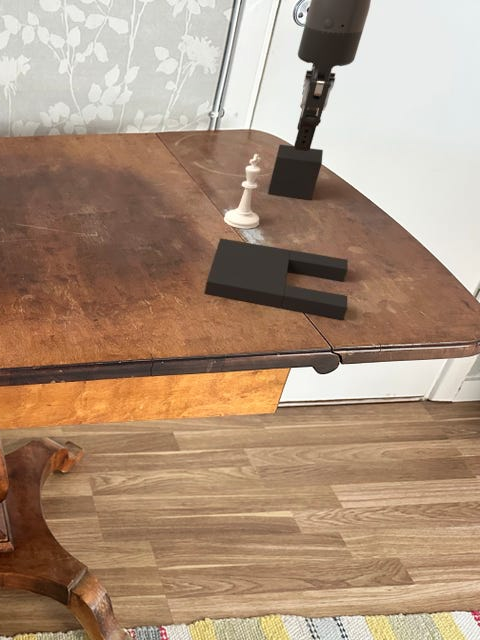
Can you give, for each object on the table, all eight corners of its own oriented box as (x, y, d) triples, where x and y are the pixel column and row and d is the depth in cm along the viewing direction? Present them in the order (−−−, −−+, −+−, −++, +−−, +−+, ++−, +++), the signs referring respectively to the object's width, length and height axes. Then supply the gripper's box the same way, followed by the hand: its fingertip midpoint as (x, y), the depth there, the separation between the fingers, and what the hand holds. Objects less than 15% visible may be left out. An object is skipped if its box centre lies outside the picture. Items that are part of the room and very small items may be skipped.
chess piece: (266, 223, 102) (283, 156, 96) (242, 231, 100) (258, 164, 94) (240, 210, 105) (255, 145, 99) (216, 218, 103) (230, 152, 97)
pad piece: (312, 186, 112) (322, 149, 108) (311, 200, 108) (321, 162, 104) (270, 180, 114) (279, 144, 110) (267, 194, 110) (276, 156, 106)
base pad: (343, 271, 91) (347, 259, 90) (343, 320, 82) (347, 307, 81) (217, 249, 96) (220, 237, 95) (204, 293, 87) (206, 281, 86)
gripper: (365, 38, 90) (328, 160, 100) (363, 15, 100) (330, 127, 110) (303, 33, 92) (273, 153, 102) (307, 10, 103) (280, 121, 112)
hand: (302, 139), depth 106 cm, fingers open, 8 cm apart
